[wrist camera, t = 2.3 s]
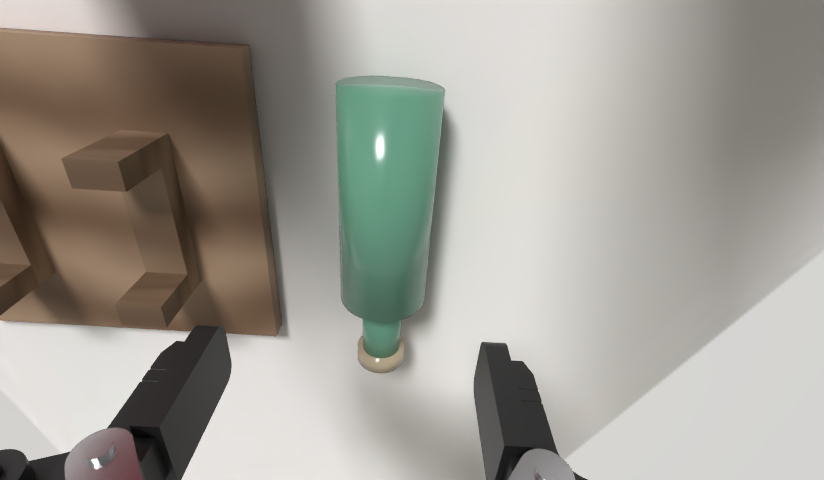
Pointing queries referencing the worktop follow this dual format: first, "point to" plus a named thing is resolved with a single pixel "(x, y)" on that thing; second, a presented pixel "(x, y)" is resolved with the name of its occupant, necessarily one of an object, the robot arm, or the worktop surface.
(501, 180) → the worktop surface
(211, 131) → the walnut bottle rack
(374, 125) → the green bottle
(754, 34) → the worktop surface
